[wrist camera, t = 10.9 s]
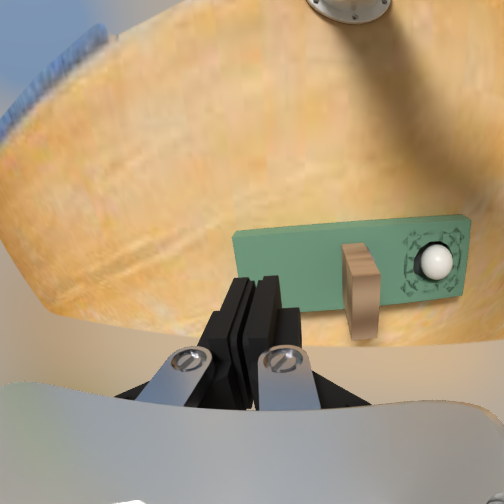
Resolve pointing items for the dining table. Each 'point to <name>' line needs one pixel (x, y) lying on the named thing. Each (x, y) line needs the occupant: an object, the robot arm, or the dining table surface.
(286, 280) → the putting mat
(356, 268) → the upright wooden plank
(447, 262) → the ball
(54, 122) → the dining table surface
